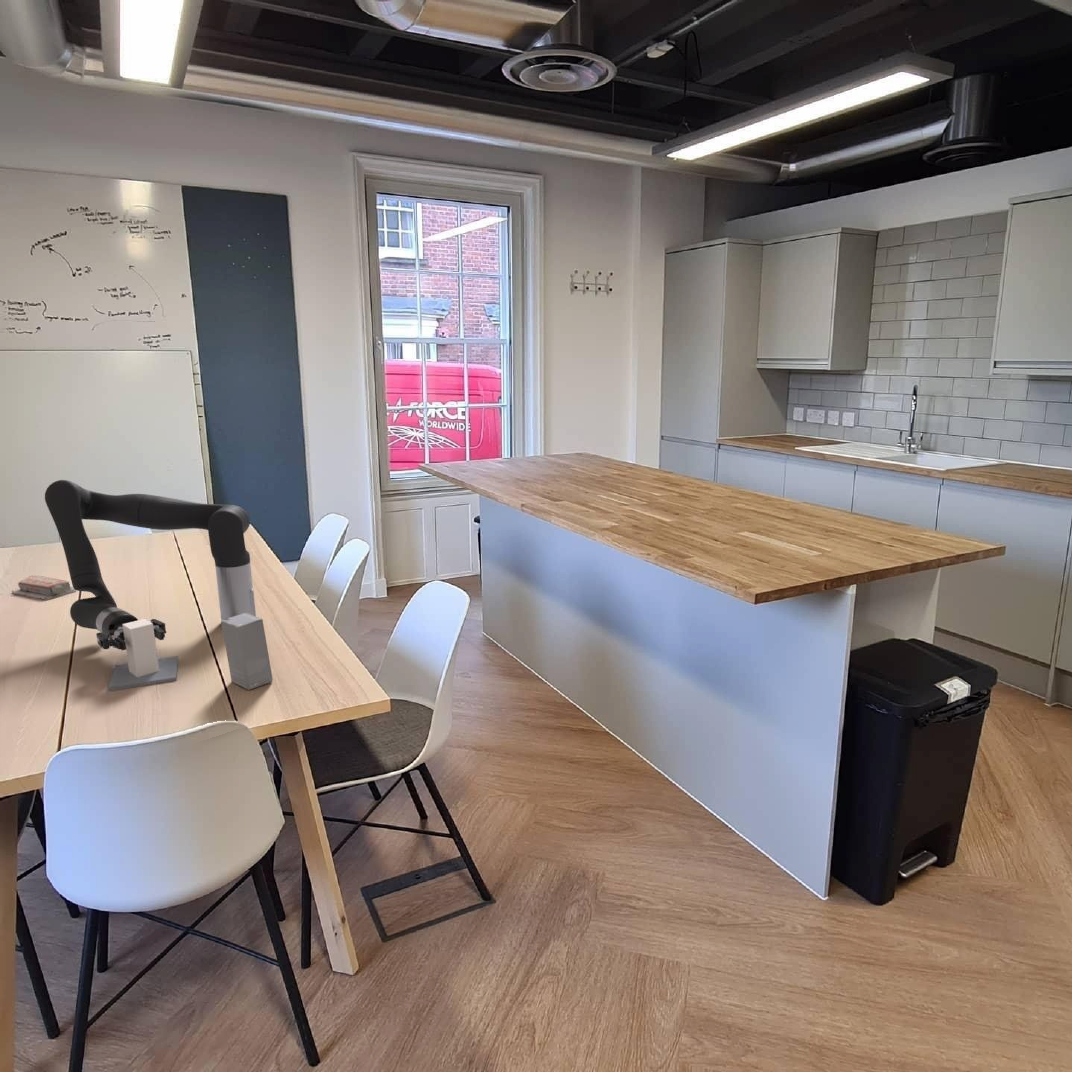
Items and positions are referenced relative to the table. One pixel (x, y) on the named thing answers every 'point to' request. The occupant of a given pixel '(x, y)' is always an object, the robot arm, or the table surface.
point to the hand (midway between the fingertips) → (143, 641)
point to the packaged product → (43, 587)
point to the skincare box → (247, 650)
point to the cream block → (140, 647)
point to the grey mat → (127, 679)
